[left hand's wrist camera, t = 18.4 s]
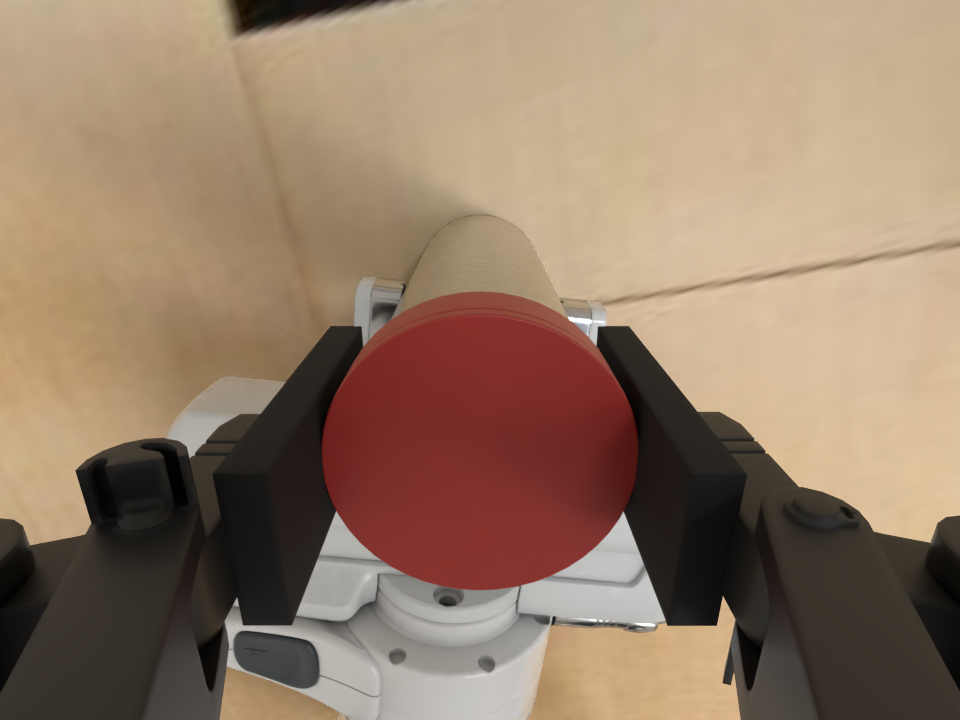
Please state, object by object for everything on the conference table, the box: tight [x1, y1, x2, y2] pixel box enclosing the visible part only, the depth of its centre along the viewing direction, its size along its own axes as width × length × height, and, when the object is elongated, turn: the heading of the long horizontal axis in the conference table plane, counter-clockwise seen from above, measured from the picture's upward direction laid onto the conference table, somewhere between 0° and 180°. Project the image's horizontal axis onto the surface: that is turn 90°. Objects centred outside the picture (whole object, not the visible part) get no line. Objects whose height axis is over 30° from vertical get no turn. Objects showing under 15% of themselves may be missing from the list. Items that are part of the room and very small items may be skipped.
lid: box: [321, 291, 639, 590], centre depth 11 cm, size 6×6×2 cm
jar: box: [391, 215, 570, 320], centre depth 18 cm, size 5×5×15 cm
